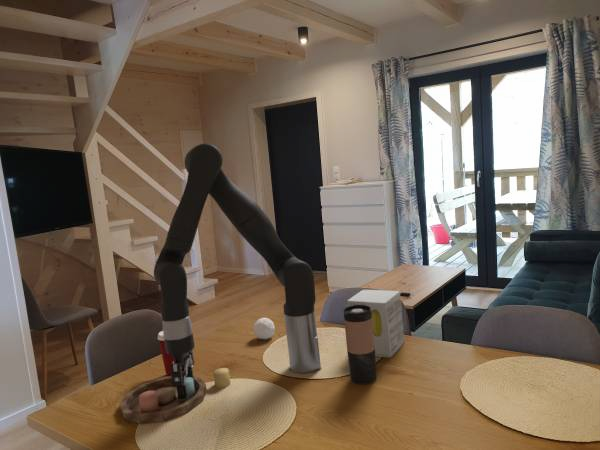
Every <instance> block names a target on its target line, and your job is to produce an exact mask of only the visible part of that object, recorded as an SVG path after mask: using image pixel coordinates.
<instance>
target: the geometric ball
mask: <svg viewBox="0 0 600 450" xmlns="http://www.w3.org/2000/svg"><path fill="white" fill-rule="evenodd" d="M252 330H253V334H254V336H255V337H256V338H258V339H259V340H263V341H265V340H268V339H271V338H272V337H273V335H274V333H275V323H274V322H273V321H272V319H270V318H269V317H268V318H267V317H261V318H259V319H258V320H256V321H255V322H254V325H253V328H252Z"/></svg>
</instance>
